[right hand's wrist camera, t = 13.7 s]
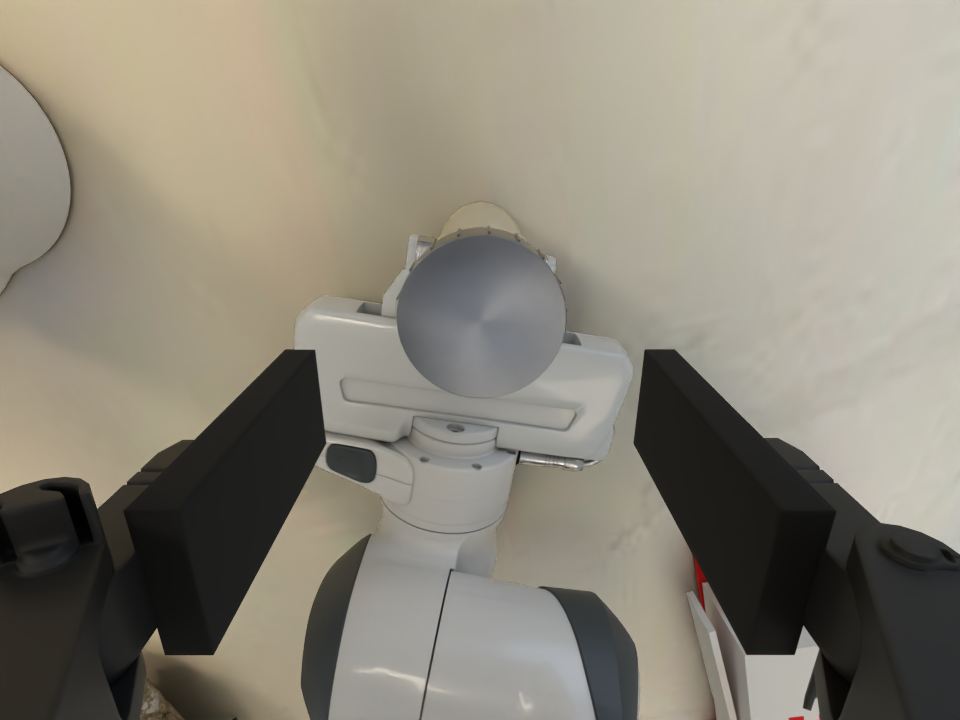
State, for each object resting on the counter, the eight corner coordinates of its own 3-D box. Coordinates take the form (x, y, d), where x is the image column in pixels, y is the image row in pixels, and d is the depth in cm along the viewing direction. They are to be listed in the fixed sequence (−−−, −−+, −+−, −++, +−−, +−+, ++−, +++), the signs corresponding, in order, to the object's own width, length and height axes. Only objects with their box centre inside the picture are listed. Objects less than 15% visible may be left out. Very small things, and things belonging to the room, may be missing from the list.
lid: (592, 304, 22) (604, 320, 20) (480, 405, 24) (480, 430, 21) (482, 189, 20) (482, 193, 18) (370, 306, 22) (358, 322, 20)
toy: (900, 547, 34) (907, 887, 41) (790, 461, 47) (809, 729, 54) (711, 575, 35) (747, 903, 42) (653, 483, 48) (688, 744, 55)
